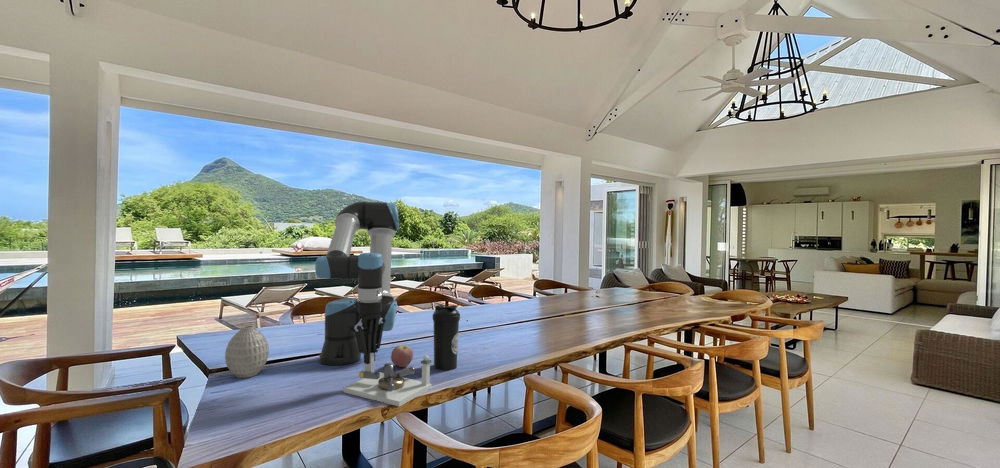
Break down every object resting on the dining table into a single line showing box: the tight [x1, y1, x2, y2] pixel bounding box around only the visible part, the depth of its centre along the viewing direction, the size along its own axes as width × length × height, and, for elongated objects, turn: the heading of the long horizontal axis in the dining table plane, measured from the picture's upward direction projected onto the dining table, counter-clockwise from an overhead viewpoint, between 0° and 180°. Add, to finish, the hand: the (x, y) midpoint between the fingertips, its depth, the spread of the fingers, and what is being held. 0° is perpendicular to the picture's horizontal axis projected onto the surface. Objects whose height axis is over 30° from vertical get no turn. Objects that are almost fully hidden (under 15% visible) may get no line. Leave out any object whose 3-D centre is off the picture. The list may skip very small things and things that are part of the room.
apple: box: [390, 344, 414, 368], centre depth 156 cm, size 8×8×8 cm
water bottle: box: [432, 304, 461, 372], centre depth 157 cm, size 10×10×23 cm
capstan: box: [358, 362, 416, 392], centre depth 134 cm, size 16×18×6 cm
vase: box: [224, 324, 270, 379], centre depth 144 cm, size 13×13×17 cm
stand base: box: [343, 355, 433, 408], centre depth 133 cm, size 22×16×11 cm
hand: (369, 372), depth 136 cm, fingers closed
